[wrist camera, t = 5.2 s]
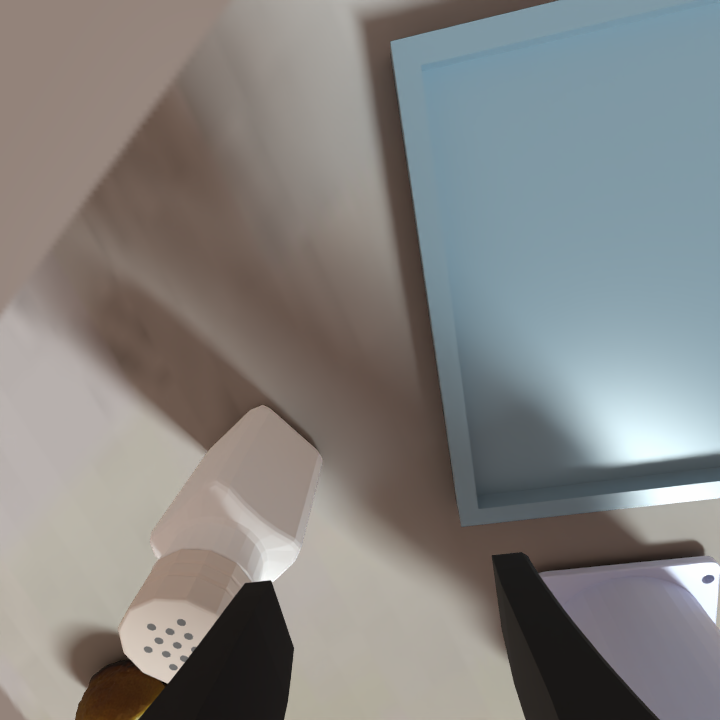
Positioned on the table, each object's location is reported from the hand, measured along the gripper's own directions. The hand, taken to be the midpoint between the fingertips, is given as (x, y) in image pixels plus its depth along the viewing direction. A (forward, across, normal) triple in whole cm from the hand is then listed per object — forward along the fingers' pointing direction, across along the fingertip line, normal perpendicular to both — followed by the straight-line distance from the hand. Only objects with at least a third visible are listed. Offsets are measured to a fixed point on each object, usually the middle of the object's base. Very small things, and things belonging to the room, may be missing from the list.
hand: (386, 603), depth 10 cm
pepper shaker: (+11, +6, +2) cm, 12 cm away
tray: (+10, -11, -3) cm, 16 cm away
